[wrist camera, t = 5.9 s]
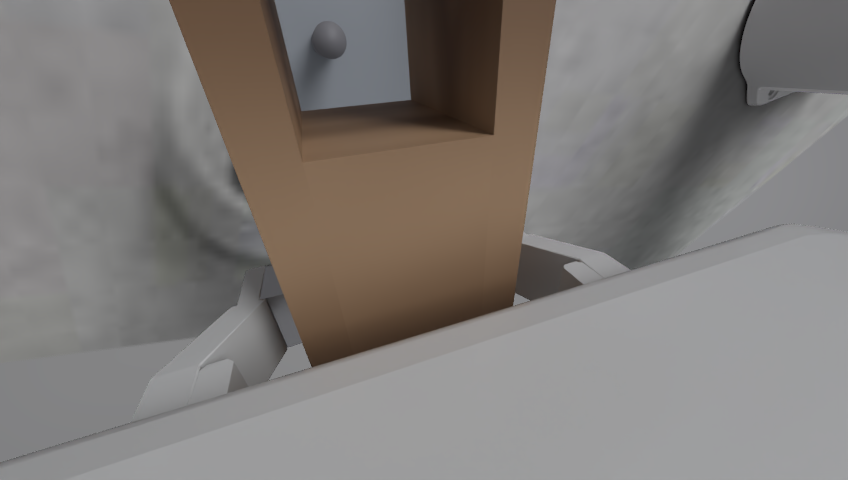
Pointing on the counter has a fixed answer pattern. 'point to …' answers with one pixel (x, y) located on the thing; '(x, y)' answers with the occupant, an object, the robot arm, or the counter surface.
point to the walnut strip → (383, 166)
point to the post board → (346, 51)
